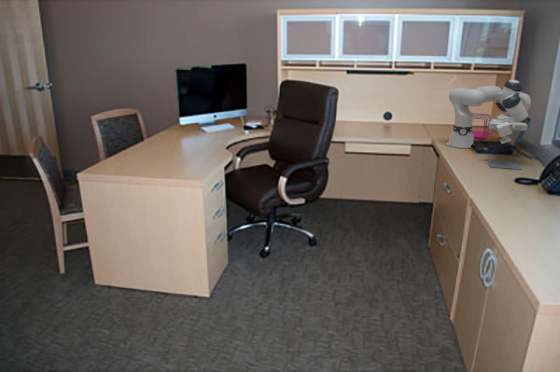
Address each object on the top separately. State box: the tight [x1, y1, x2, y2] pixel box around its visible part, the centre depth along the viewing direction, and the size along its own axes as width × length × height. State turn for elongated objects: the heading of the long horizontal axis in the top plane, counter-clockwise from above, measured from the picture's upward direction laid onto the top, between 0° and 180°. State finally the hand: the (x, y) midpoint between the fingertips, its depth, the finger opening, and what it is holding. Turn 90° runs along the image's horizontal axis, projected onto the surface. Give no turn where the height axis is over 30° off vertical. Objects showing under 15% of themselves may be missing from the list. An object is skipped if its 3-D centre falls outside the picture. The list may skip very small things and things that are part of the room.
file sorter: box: [472, 112, 492, 141], centre depth 339 cm, size 17×25×16 cm
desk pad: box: [487, 159, 522, 171], centre depth 264 cm, size 16×16×1 cm
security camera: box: [496, 122, 513, 145], centre depth 259 cm, size 6×7×10 cm
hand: (509, 128), depth 257 cm, fingers closed on security camera
